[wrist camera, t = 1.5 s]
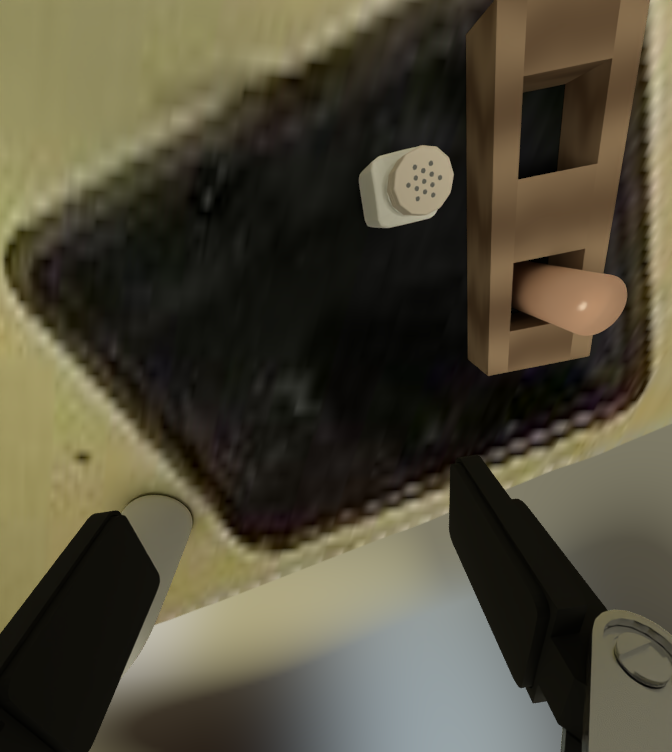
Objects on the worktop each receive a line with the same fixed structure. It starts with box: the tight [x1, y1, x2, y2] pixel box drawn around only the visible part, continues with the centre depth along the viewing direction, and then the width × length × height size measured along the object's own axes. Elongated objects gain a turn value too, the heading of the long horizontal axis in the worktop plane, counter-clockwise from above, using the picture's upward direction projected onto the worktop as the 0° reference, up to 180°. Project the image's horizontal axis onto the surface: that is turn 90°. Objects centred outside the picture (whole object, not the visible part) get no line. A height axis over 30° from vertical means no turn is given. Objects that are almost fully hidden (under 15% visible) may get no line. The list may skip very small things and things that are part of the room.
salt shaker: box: [359, 145, 454, 228], centre depth 21 cm, size 4×4×10 cm
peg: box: [511, 261, 627, 336], centre depth 25 cm, size 4×4×9 cm
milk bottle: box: [120, 495, 193, 679], centre depth 29 cm, size 8×8×20 cm
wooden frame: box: [466, 0, 650, 376], centre depth 25 cm, size 24×9×4 cm, turn 10°
